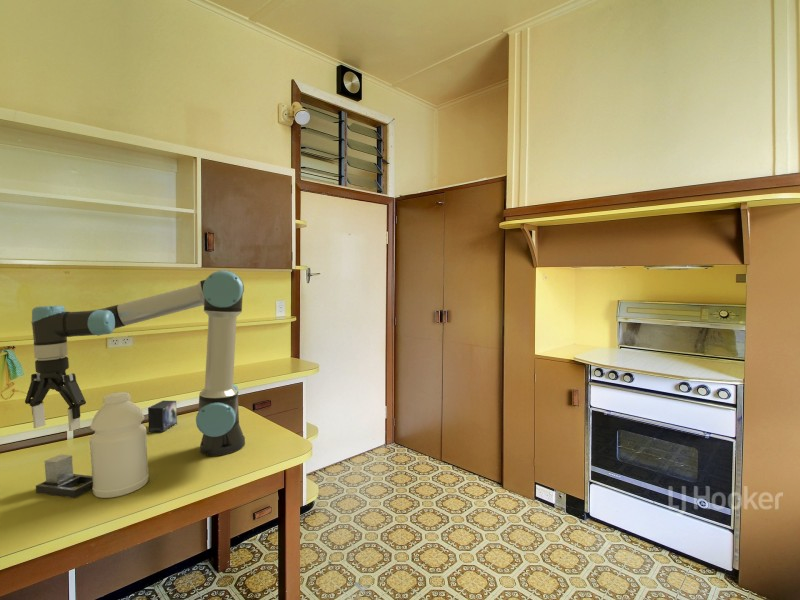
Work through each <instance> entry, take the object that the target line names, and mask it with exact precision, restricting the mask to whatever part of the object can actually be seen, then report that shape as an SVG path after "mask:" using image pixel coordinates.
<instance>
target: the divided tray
mask: <svg viewBox="0 0 800 600" xmlns="http://www.w3.org/2000/svg"><path fill="white" fill-rule="evenodd" d="M81 484H82V485H81ZM79 485H80V486H79ZM77 486H78V487H77ZM92 488H93V480H92V475H87V474H85V475H84V474H79V473H78V474H77V473H73V479H71V480H69V481H67V482H65V483H63V484H61V485H58V486H52V485H46V480H44V481H43V482H41V483H38V484H36V485H35V493H36V494H41V495H47V496H48V495H49V496H50V495H51V496H58V497H63V498H72V499H76V498H79V496H81V495H83V494H86V493H87V492H89V491H92Z"/></svg>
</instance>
